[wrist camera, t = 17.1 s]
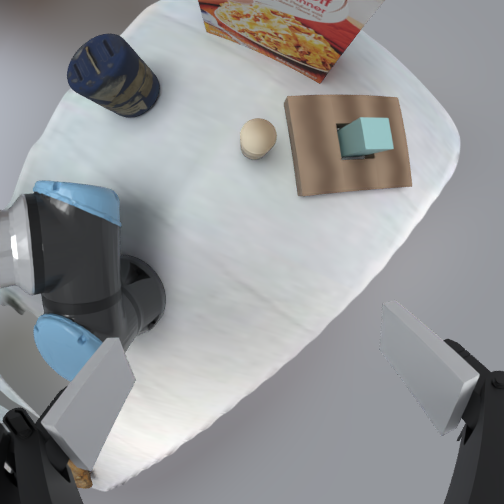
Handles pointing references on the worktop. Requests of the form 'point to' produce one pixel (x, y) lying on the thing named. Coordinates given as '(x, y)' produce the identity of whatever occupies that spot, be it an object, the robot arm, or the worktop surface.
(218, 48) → the worktop surface
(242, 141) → the round dowel
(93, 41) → the canister
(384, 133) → the square peg
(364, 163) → the socket block
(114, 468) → the worktop surface
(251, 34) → the pasta box
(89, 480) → the rough brown rock
